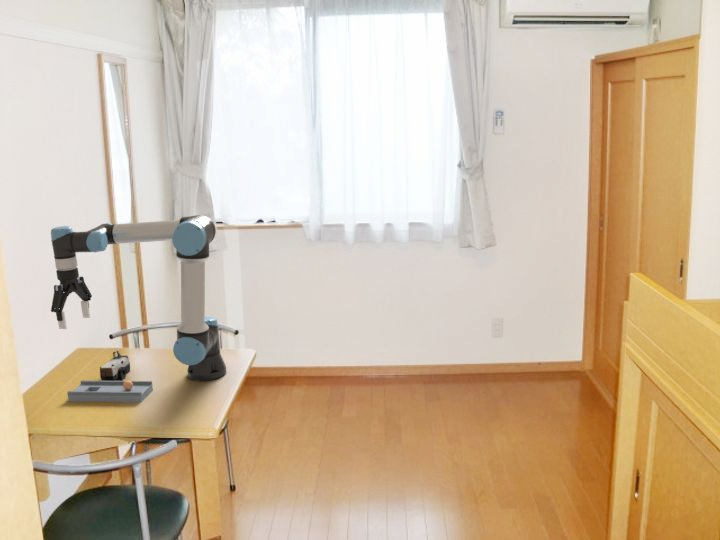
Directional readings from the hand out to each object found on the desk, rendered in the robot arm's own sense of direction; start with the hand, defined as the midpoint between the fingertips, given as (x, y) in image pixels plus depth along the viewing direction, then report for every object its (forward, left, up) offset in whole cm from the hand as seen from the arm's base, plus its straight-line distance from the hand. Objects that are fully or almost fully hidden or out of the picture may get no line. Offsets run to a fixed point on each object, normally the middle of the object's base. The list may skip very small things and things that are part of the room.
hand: (75, 323), depth 284 cm
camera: (-9, -10, -26) cm, 30 cm away
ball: (-21, +8, -22) cm, 31 cm away
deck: (-14, +8, -26) cm, 31 cm away
